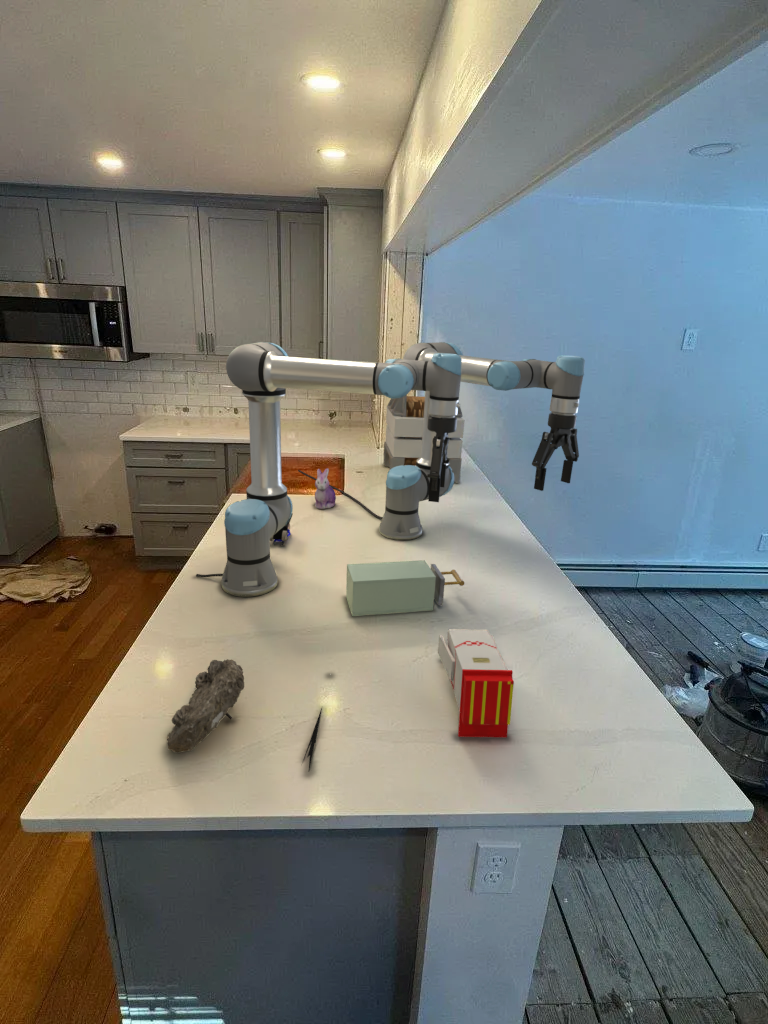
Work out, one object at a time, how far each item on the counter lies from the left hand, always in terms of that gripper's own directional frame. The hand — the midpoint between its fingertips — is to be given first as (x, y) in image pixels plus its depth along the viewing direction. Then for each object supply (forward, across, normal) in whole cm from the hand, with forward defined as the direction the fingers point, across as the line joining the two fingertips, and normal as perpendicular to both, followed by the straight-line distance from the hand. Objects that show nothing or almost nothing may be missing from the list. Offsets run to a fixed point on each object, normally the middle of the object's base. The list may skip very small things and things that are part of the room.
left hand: (436, 493), depth 154 cm
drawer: (+27, -11, +3) cm, 29 cm away
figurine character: (+28, +19, +53) cm, 63 cm away
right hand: (0, +19, -32) cm, 37 cm away
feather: (+28, -61, +13) cm, 69 cm away
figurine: (+28, +57, +49) cm, 80 cm away
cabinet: (+28, -13, +9) cm, 32 cm away
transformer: (+28, +117, +20) cm, 122 cm away
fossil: (+28, -66, +33) cm, 79 cm away
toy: (+28, -45, -14) cm, 55 cm away
